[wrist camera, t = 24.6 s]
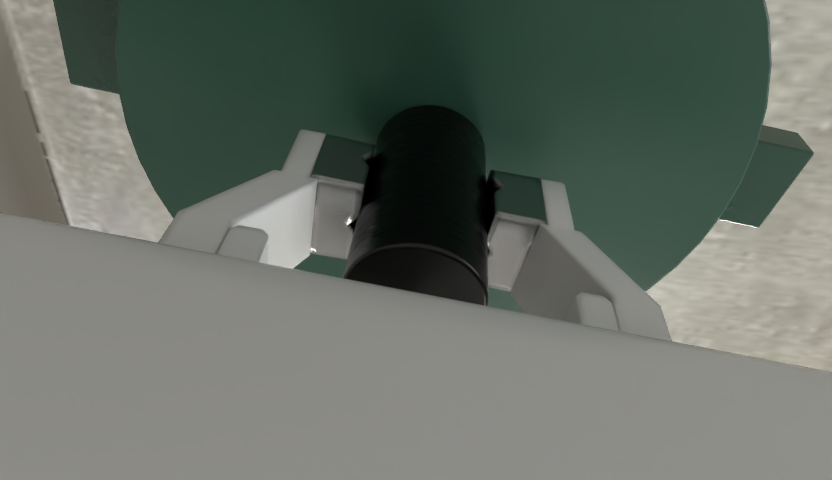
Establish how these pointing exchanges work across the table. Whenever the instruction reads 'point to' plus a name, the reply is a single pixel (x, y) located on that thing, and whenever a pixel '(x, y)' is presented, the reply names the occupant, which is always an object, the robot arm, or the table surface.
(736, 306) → the table surface
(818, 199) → the table surface
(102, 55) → the pot
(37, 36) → the table surface
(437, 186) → the pot lid
